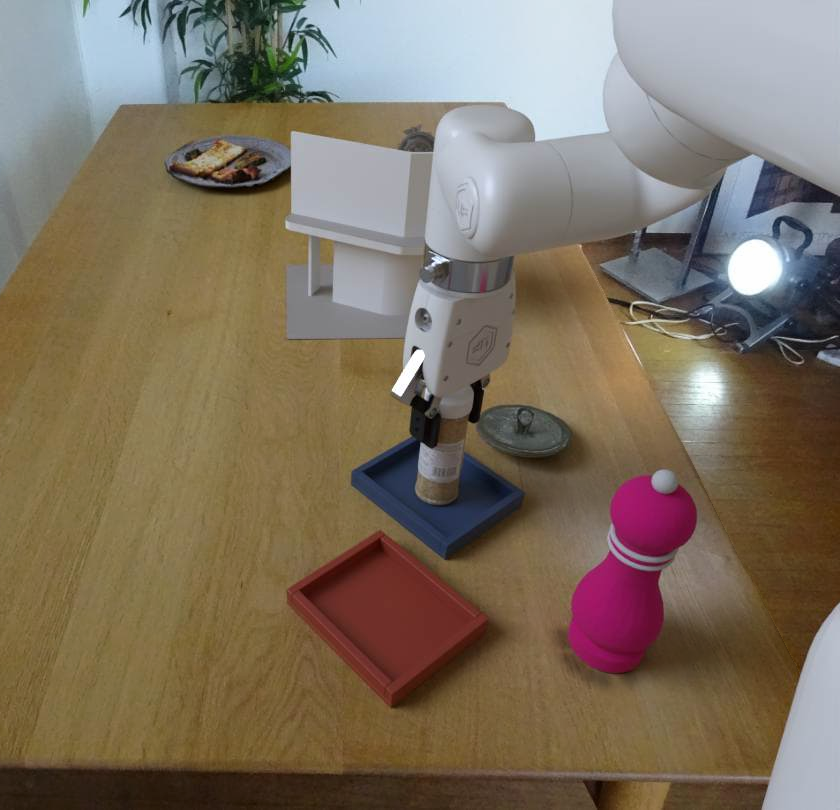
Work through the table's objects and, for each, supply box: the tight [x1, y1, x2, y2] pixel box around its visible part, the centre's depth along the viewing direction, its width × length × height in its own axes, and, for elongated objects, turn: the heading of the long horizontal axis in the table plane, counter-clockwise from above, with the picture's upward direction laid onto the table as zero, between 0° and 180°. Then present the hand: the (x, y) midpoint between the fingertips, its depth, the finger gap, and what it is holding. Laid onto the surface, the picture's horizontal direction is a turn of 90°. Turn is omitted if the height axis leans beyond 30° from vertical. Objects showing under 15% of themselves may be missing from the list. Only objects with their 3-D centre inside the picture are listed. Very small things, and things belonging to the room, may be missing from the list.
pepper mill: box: [567, 469, 698, 674], centre depth 64 cm, size 7×7×20 cm
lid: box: [475, 404, 573, 458], centre depth 90 cm, size 11×10×5 cm
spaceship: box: [397, 123, 435, 152], centre depth 152 cm, size 8×35×8 cm
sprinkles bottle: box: [415, 385, 474, 505], centre depth 80 cm, size 5×5×14 cm
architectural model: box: [285, 130, 433, 340], centre depth 110 cm, size 28×21×23 cm
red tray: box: [286, 529, 489, 709], centre depth 72 cm, size 14×12×2 cm
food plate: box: [164, 134, 291, 190], centre depth 154 cm, size 25×23×4 cm
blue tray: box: [350, 435, 526, 560], centre depth 84 cm, size 14×12×2 cm
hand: (444, 426), depth 79 cm, fingers open, 5 cm apart
